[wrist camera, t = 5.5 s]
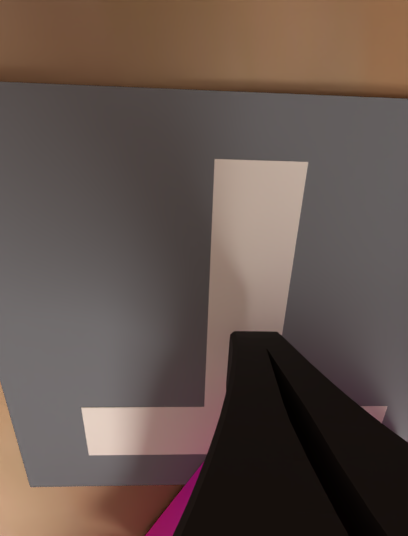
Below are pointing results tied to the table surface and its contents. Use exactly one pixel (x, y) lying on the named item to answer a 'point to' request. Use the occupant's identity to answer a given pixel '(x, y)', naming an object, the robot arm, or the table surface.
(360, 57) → the table surface
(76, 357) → the board
